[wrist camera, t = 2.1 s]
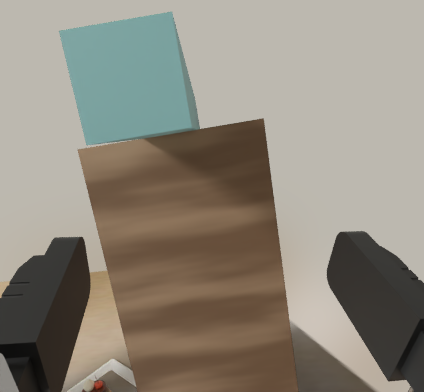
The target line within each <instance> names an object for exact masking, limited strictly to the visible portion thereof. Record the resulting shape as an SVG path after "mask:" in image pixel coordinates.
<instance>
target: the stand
mask: <svg viewBox="0 0 424 392" xmlns="http://www.w3.org/2000/svg"><path fill="white" fill-rule="evenodd" d="M264 126H265V125H264V119H258V120H252V121H246V122H240V123H234V124H228V125H222V126H216V127H210V128H204V129H198V130H192V131H186V132H180V133H174V134H168V135H162V136H156V137H150V138H144V139H138V140H132V141H127V142H120V143H115V144H108V145H103V146H96V147H90V148H85V149H79V150H78V153H79V157H80V161H81V165H82V169H83V173H84V177H85V181H86V185H87V189H88V193H89V198H90V202H91V206H92V210H93V214H94V217H95V222H96V226H97V230H98V234H99V238H100V242H101V246H102V250H103V254H104V258H105V262H106V266H107V270H108V274H109V278H110V282H111V286H112V291H113V295H114V299H115V303H116V307H117V311H118V315H119V319H120V323H121V327H122V331H123V335H124V339H125V343H126V347H127V351H128V355H129V359H130V363H131V367H132V371H133V375H134V379H135V383H136V388H137V392H298V384H297V377H296V369H295V361H294V353H293V345H292V337H291V330H290V322H289V314H288V306H287V298H286V290H285V282H284V275H283V267H282V259H281V251H280V244H279V236H278V229H277V220H276V212H275V204H274V196H273V188H272V182H271V173H270V166H269V158H268V149H267V141H266V133H265V127H264Z"/></svg>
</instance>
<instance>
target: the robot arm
mask: <svg viewBox="0 0 424 392" xmlns="http://www.w3.org/2000/svg"><path fill="white" fill-rule="evenodd" d="M327 280H328V284H329V286H330V288H331V290H332V291H333V293H334V295H335V296H336V298H337V299H338V301H339V303H340V304H341V306H342V307H343V309H344V311H345V312H346V314H347V316H348V317H349V319H350V320H351V322H352V323H353V325H354V327H355V328H356V330H357V332H358V333H359V335H360V336H361V338H362V340H363V341H364V343H365V345H366V346H367V348H368V349H369V351H370V353H371V354H372V356H373V357H374V359H375V361H376V362H377V364H378V365H379V367H380V369H381V370H382V372H383V374H384V375H385V377H386V378H387V380H388V381H398V380H407V381H408V383H409V384H410V386H411V387H410V389H409V391H408V392H424V283H423V282H422V281H421V280H418V277H417V276H416V275H415V274H414V273H413V272H412V271H411V270H409V269H408V267H407V266H406V265H405V264H404V263H403V262H402V261H401V260H400V259H399V258H398V257H397V256H396V255H394V254H393V253H391V252H389V251H388V250H386V249H385V248H383V247H381V246H379V245H378V244H377V243H376V242H375V241H374V240H373V239H372V238H371V237H370V236H369V235H368V234H367V233H366V232H363V231H356V232H340V233H339V234H338V235H337V237H336V240H335V244H334V247H333V251H332V254H331V257H330V261H329V265H328V268H327ZM89 294H90V273H89V267H88V261H87V254H86V248H85V242H84V239H83V237H60V238H54V239H53V240H52V242H51V244H50V246H49V248H48V250H47V251H46V253H45V255H39V256H33V257H32V258H30V259H29V260H28V261H27V262H26V263H24V264H23V265H22V266H21V267H19V269H18V270H17V271H16V273H15V275H14V276H13V278H12V279H11V281H10V285H9V286H7V288H6V289H5V291H4V292H3V294H2V298H0V392H61V391H62V388H63V384H64V381H65V377H66V374H67V371H68V367H69V364H70V360H71V357H72V353H73V350H74V347H75V343H76V340H77V336H78V333H79V330H80V326H81V323H82V319H83V316H84V313H85V309H86V306H87V302H88V299H89Z"/></svg>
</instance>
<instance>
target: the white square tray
mask: <svg viewBox="0 0 424 392" xmlns="http://www.w3.org/2000/svg"><path fill="white" fill-rule="evenodd" d="M110 370H112V371H114V372H115V373H117V374H118V375H119V376H121V377H122V378H124V379H125V380H127V381H128V382H129V383H131V384H132V385H134V386H135V387H136V383H135V379H134V375H133V371H132V370H131V369H129V368H128V367H126V366H124V365H123V364H121V363H120V362H118V361H117V360H115V359H114V358H112V359H111V360H109V361H108V362H107V363H105V364H104V365H103V366H101V367H100V368H98V369H97V370H96V371H94V372H93V373H91V374H90V375H89V376H87V377H86V378H84V379H83V380H82V381H80V382H79V383H78V384H76V385H75V386H73V387H72V388H71V389H69V390H68V391H66V392H81V391H82V392H111V390H110V389H109V387H108V386H107V384H106V383H105V382H104V381H102V380H98V379H99V378H100V377H102V376H103V375H104V374H106V373H107V372H108V371H110ZM96 380H97V381H96Z"/></svg>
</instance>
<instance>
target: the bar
mask: <svg viewBox="0 0 424 392" xmlns="http://www.w3.org/2000/svg"><path fill="white" fill-rule="evenodd" d="M59 33H60V37H61V41H62V45H63V49H64V54H65V58H66V62H67V66H68V70H69V74H70V79H71V82H72V87H73V91H74V95H75V99H76V103H77V108H78V111H79V116H80V120H81V124H82V128H83V132H84V137H85V141H86V145H93V144H101V143H109V142H119V141H127V140H136V139H144V138H150V137H156V136H162V135H168V134H174V133H180V132H186V131H192V130H198V129H200V127H199V120H198V114H197V108H196V103H195V97H194V94H193V90H192V86H191V82H190V79H189V75H188V71H187V67H186V63H185V59H184V56H183V52H182V48H181V45H180V41H179V37H178V33H177V29H176V25H175V22H174V18H173V14H172V12H167V13H162V14H155V15H150V16H144V17H138V18H132V19H127V20H120V21H114V22H108V23H103V24H97V25H91V26H85V27H79V28H73V29H68V30H61V31H59Z"/></svg>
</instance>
